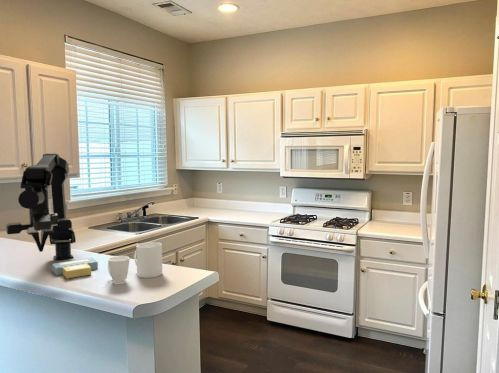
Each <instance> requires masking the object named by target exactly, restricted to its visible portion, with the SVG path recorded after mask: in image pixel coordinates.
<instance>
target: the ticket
mask: <svg viewBox="0 0 499 373" xmlns="http://www.w3.org/2000/svg"><path fill="white" fill-rule="evenodd" d="M81 264H88V265H89V266H90V267H91V271H92V270H97V269H99V262H98V261H97V260H95V259H94V258H93V257H89V258H81V259H76V260H75V259H74V260H68V261H61V262H56V263H52V264H51V265H52V267H51V268H52V272H53V273H54V274H55V276H62V275H63V267H68V266H75V265H81ZM61 274H62V275H61Z"/></svg>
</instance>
